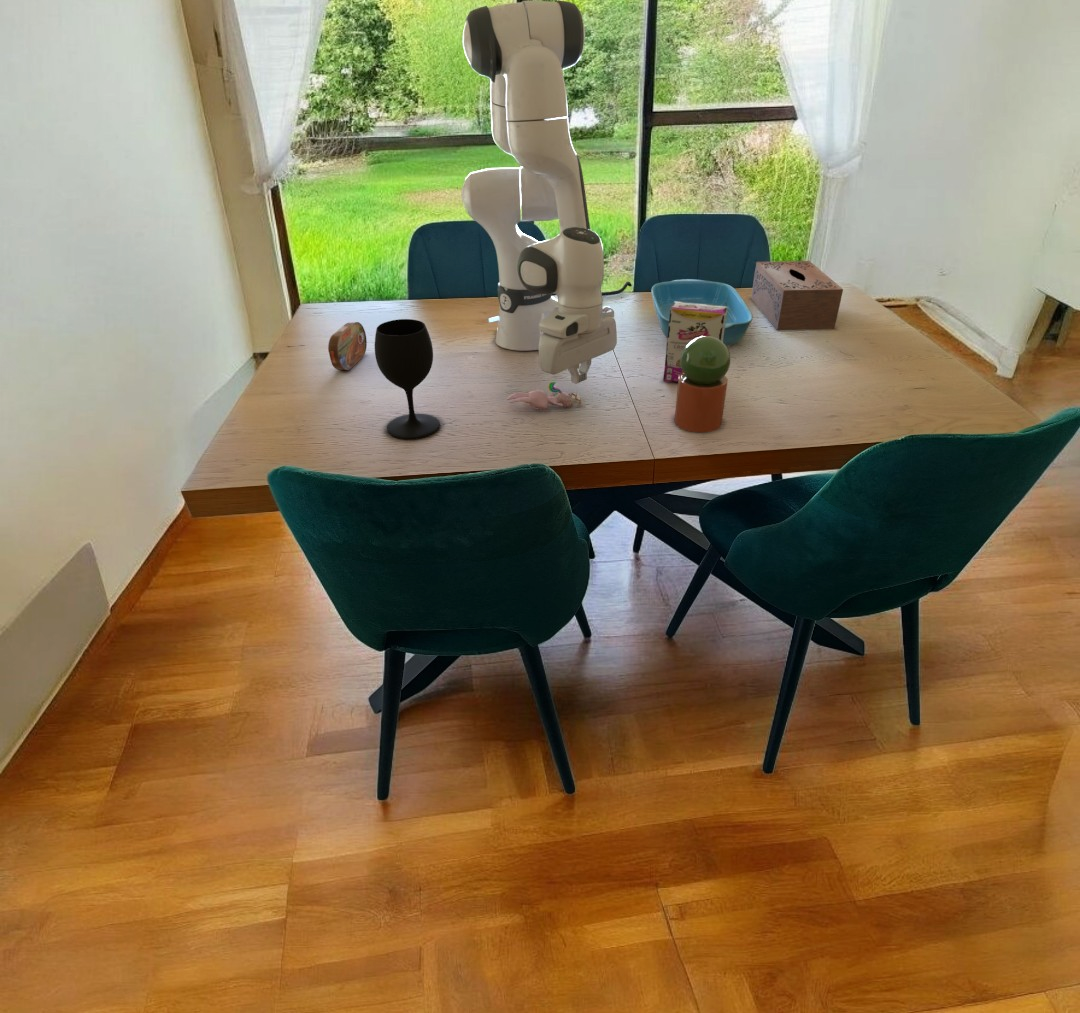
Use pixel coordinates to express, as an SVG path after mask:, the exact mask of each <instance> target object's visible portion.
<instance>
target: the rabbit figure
mask: <svg viewBox="0 0 1080 1013" xmlns="http://www.w3.org/2000/svg"><path fill="white" fill-rule="evenodd" d="M555 384H557V381H551V382H549V383H548V385H547V388H548V390H549V391H550V392H551V393H550V394H549V395H547V393H546V392H544V391H543V390H540V389H536V390H535V389H534V390H532V391H529V392H522V391H519V392H514V393H512V394H510V395H509V396H508V397H507V398H506V401H509V402H508V404H513V403H520V402H521V403H526V404H528V405H529V406H530V407H531V408H532V409H537V410H541V411H543V410H546V409H547V408H548V407H549V406H548V405H549V404H550V405H552V406H555V407H556V406H559V407H565V408H572V407H573V406H574V405H575V403H576V401H578V407H581V405H582V400H581V399H582V397H580V398H578V393H576V394H575V393H574V392H571V393H567V391H562V390H561V389H560V387H558V386H555ZM556 393H557V395H556V396H554V395H555V394H556ZM573 396H574V397H573ZM572 397H573V398H572Z"/></svg>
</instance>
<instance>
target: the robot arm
mask: <svg viewBox="0 0 1080 1013" xmlns="http://www.w3.org/2000/svg"><path fill="white" fill-rule="evenodd" d="M585 39H586V29H585V24H584V20H583V15H582V13H581V10H580V8H578V6H577V5H576V4H575V3H573V2H569V1H567V0H556V2H555V1H550V0H549V1H547V0H521V2H511V3H504V4H500V5H499V4H498V5H494V6H487V5H483V6H480V7H477V8H474V9H472V10H470V11H469V12H468V14H467V16H466V17H465V23H464V27H463V32H462V47H463V50H464V55H465V57H466V59H467V61H468V63H469V66H470V68H471V69H472V70H473V71H474V72H475V73H476V74H478V75H480V76H482V77H486V78H488V79H489V98H490V99H489V100H490V114H491V118H490V119H491V135H492V138H493V139H492V140H493V141H494V143H495V144H496V146H497V147H498V148H499V149H500V150H501V151H503V152H504V153H506V154H508V155H510V156H512V157H513V158H514V160H515V161H516V162H517V163H518V165H519V166H520V167H490V168H489V167H488V168H484V169H480V170H476V171H472V172H470V173H469V174H468V175H467V176H466V177H465V179H464V181H463V184H462V187H461V202H462V205H463V206H462V207H463V209H464V210H465V212H466V213H467V215H468V216H469V217H470V218H471V219H472V220H473V221H475V222H476V223H477V224H479V225H480V226H481V227H482V228H483V230H484V231H485V232H486V233H487V234H488V236H489V237H490V239H491V241H492V242H493V243H492V244H493V246H494V249H495V253H496V258H497V267H498V268H497V269H498V280H499V282H498V283H497V299H498V303H499V304H498V305H499V306H498V307H499V308H498V315H497V316H493V317H490V318H488V322H489V323H493V322H496V321H497V328H496V336H495V340H494V341H495V344H496V345H497V346H499V347H500V348H503V349H505V350H506V349H507V350H511V351H519V352H520V351H521V352H522V351H523V352H524V351H525V352H527V351H528V352H529V351H538V366H539V368H540V370H541V371H542V372H544V373H546V374H549V375H552V376H554V375H557V374H559V373H562V372H564V371H566V370H568V372H569V373H570V376H571V378H570V379H571V380H570V382H571V383H573V384H575V385H577V384H579V383H582V382H584V381H586V380H588V379H587V378H588V372H589V369H590V367H591V365H592V359H595V358H597V357H599V356H600V357H601V355H605V354H606V353H609V352H611V351H614V350H615V349H616V346H617V345H618V344H617V343H618V334H617V323H616V319H615V311H614V309H613V308H612V307H610V306H609V305H606V306H603V305H604V302H603V301H604V299H603V298H604V297H606V296H607V297H608V296H616V295H619V294H621V293H623V292H624V291H625V290H626V289H627V287H633V285H632V283H631V281H626V282H625V283H624V284H623V285H622V287H621V288H620V289H618V290H612V291H602V285H603V283H604V276H605V274H604V273H605V260H604V259H605V257H604V248H603V243H602V242H603V241H602V239H601V237H600V235H599V234H598V233H597V232H595V231H594V230H591V225H590V218H589V211H588V203H587V195H586V188H585V181H584V173H583V169H582V165H581V160H580V157H579V155H578V153H577V151H575V149H574V146H573V143H572V139H571V133H570V126H569V117H568V116H569V111H568V98H567V97H568V96H567V91H566V90H567V89H566V84H565V77H564V72H563V70H566V69H568V68H571V67H574V66H575V65H576V64H577V63H578V62H579V60H580V59H581V58H582V55H583V50H584V46H585V41H586V40H585ZM555 220H558V223H559V233H558V234H557V235H556V236H553V237H551V238H549V239H546V240H542V241H538V240H537V239H535V238H534V237H532V236H530V235H527V234H526V233H523V232H522V231H521V229H520V228H519V226H518V224H519V223H521V222H550V221H555ZM553 294H554V295H556V296H557V298H556V297H554V296H553Z"/></svg>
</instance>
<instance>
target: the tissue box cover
mask: <svg viewBox="0 0 1080 1013" xmlns="http://www.w3.org/2000/svg"><path fill="white" fill-rule="evenodd" d="M754 268H755V270H754V275H753V283H752V288H751V289H752V290H751V296H750V299H751V300H752V301H753V303H754V304H755V305H756V307H757V308H758V309H759V310H760V311H761V312H762V314H763V315H764V316H765V317H766V319H767V320H768V321H769V322H770V323H771V325H772V326H773V327H774V329H775V330H776V331H804V330H805V331H806V330H807V331H808V330H811V331H813V330H814V331H815V330H835V328H836V324H837V319H838V314H839V310H840V305H841V301H842V297H843V292H844V288H842V287H841V286H840V285H838V284H837V283H836V282H835V281H834V280H833V279H832V278H830V277H829V276H828V275H827V274H826V273H824V272H823V271H822V270H821V269H820V268H819V267H817V266H816V265H815V264H814V263H813V262H811V261H810V260H785V261H784V260H783V261H781V260H780V261H775V260H774V261H756V262H755V267H754Z"/></svg>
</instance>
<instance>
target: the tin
mask: <svg viewBox="0 0 1080 1013" xmlns="http://www.w3.org/2000/svg"><path fill="white" fill-rule="evenodd" d="M367 343H368V342H367V334H366V330H365V327H364V326H363V324H362V323H360V322H359V321H355V322H354V321H353V322H346V323H345V324H344V325H342V326H341V327H340V328H339V329H337V330H336V331H335V332H334V333H333V334H332V335H331V336H330V338H329V340H328V345H327V350H328V354H329V359H330V362H331V365H332V367H333V368H334V369H335V370H338V371H350V370H351V369H352V368H353V367H355V365H356V364H358V362H360V361H361V360H362V358H363V357H364V356H365V355H366V352H367Z"/></svg>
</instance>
